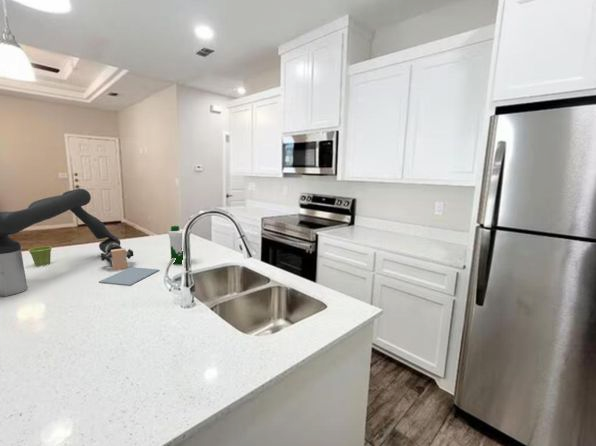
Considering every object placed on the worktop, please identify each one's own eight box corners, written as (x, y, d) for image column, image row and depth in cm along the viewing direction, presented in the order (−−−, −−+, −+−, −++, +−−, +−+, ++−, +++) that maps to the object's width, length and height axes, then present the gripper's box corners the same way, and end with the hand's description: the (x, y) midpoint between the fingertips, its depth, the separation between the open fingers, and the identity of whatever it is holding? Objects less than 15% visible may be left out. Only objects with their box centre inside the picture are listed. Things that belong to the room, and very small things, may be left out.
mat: (130, 285, 131) (130, 284, 130) (98, 282, 133) (98, 281, 133) (159, 270, 150) (159, 269, 150) (131, 268, 153) (131, 267, 153)
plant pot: (43, 267, 151) (41, 251, 150) (25, 267, 151) (23, 250, 150) (58, 261, 160) (56, 246, 159) (41, 261, 161) (39, 245, 159)
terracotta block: (112, 268, 151) (110, 249, 149) (126, 266, 155) (124, 248, 153) (113, 270, 149) (111, 251, 147) (127, 268, 152) (125, 249, 150)
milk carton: (178, 259, 168) (175, 224, 164) (192, 260, 166) (190, 225, 162) (168, 264, 159) (165, 227, 156) (183, 265, 158) (181, 228, 154)
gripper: (97, 246, 157) (101, 253, 144) (128, 242, 165) (134, 248, 153) (99, 259, 158) (103, 268, 146) (129, 255, 167) (135, 262, 154)
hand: (119, 258), depth 149 cm, fingers open, 8 cm apart
